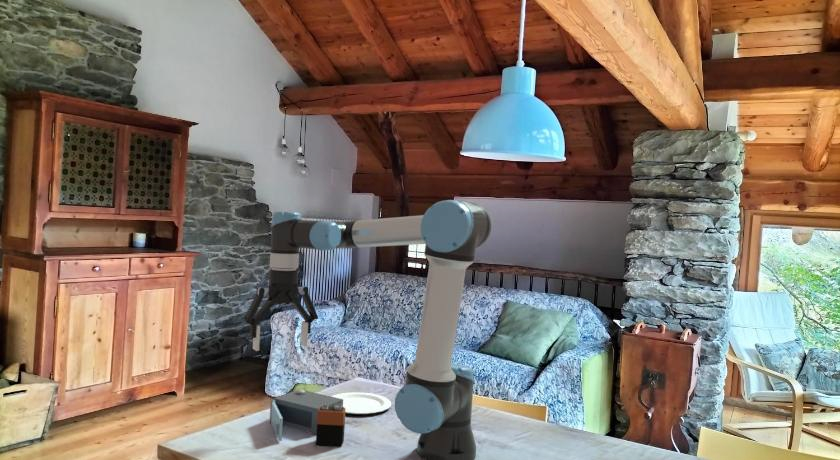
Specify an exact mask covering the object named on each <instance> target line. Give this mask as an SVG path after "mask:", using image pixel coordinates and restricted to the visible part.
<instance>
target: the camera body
mask: <svg viewBox="0 0 840 460" xmlns="http://www.w3.org/2000/svg"><path fill="white" fill-rule="evenodd" d="M331 396H332V395H331ZM331 396H330V395H326V394H322V393H318V392H314V391H308V390H304V389H299V388H298V389H295V390H292V391H290V392H287V393H284V394H282V395H279V396H276V397H273V400H275V404H276V406H277V408H278V410H279V412H280V414H281V416H282V418H283V425H282V427H283V426H284V427H286V428H291V429H295V430H299V431H303V432H305V433H310V434H313V435H316V432H317V413H318V410H319V408H320V407H321V406H322V405H328V406H329V407H334V406H335V405H342V407H343V399H340V398H335V397H331Z"/></svg>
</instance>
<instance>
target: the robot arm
mask: <svg viewBox="0 0 840 460" xmlns="http://www.w3.org/2000/svg"><path fill="white" fill-rule="evenodd" d="M301 217H302V216H301V213H300V212H297V211H296V212H294V211H275V212H273V214H272V218H271V226H270V229H271V230H270V236H271V237H270V255H269V256H270V257H269V267H270V268H271V269H270V270H269V274H268V275H269V276H268V277H269V278H268V287H261V286H258V287H257V288H256V292H255V296H254V298H253V300H252V301H251V304H250V305H249V308H248V310H247V312H246V313H245V315H244V317H243V322H244V323H246V324H247V325H249V326H250V329H249V336H250V338H251V339H252V350H254V351H255V352H258V351H260V341H261V338H260V337H261V336H260V335H261V325H259V324H260V322H261V320H262V319H264V317H265V316H266V315H267V313H269V311H270V310H271V309H272V307H274V306H275V305H276V304H277V305H281V304H283V305H284V304H286V305H287V304H288V305H289V304H291V305H292V306H293V307H294V308H295V310H296V311H297V312H298V313H299V315H300V316H301V317H302V319H303V321H301V324H300V325H301V327H300V346H302V347H308V336H309V335H310V334H311V331H312V329H311V327H312V323H313V322H314V321H315V320H318V318H319V315H318V313H317V310H316V309H315V306H314V304H313V302H312V300H311V297H310V295H309V287H308V286H305V285H301V286H299V287H298V282H299V271H298V270H297V269H299V263H300V262H299V261H300V258H299V257H300V249H308V250H310V249H311V250H318V251H321V252H322V251H333V250H335V249H347V250H348V249H357V248H369V247H370V248H372V247H376V248H377V247H392V246H393V247H394V246H411V245H412V246H413V245H425V246H424V254H423V255H424V257H425V258H426V259H427V260H428V263H429V265H428V270H427V271H428V272H427V278H426V285H425V292H424V298H423V305H422V310H421V311H422V313H421V318H420V325H419V326H420V327H419V330H418V331H419V332H418V339H417V345H416V352H415V358H414V362H413V363H411V364H410V365H409V366H408V367H407V368H406V375H405V382H404V385H403V386H402V387H401V388H400V389H399V390H398V392H397V393H396V395H395V399H394V410H395V414H396V416H397V419H399V421H400V422H401V424H402V425H403V426H404V427H405V428H406V429H407V430H409V431H411V432H412V433H416V434H419V438H418V440H417V446H416V449H417V450H416V451H417V455H418V456H419V457H421V458H422V459H424V460H474V459H476V457H477V444H476V440H475V436H474V433H473V429H472V410H473V409H472V408H473V395H474V393H473V392H474V383H475V379H474V370H473V369H472V367H470V366H468V365H465V364H460V363H455V362H453V357H454V356H453V355H454V348H455V342H456V338H457V337H456V336H457V329H458V322H459V316H460V311H461V310H460V309H461V303H462V298H463V296H462V295H463V290H464V284H465V276H466V273H467V271H466V270H467V269H468V267H469V266H471V265H473V263H474V261H475V256H476V255H475V254H476V249H478V248H479V247H481V246H483V245H484V244H486V242H487V241H488V240H489V237H490V235H491V232H492V220H491V216H490V214H489V213H488V212H487V210H486V209H485V208H484V207H482V206H481V205H479V204H477V203H474V202H469V201H461V200H456V199H447V200H441V201H437V202H436V203H434V204H432V205H431V206H429V207H428V208H427V210H426V211H425V213H424V214H422V215H409V216H398V217H396V216H395V217H384V218H374V219H373V218H372V219H362V220H361V219H360V220H359V219H358V220H349V221H348V220H346V221H345V220H344V221H343V220H342V221H334V220H333V221H332V220H312V219H311V220H306V219H302V218H301ZM266 294H268V298H267V299H266V301H265V302H264V303H263V305H262V306H261V308H260V309H259V307H260V305H261V304H262V301H263V300H264V297H265V296H266ZM297 294H299V295H301V298H302V300H303V303H304V305H305V307H306V309H305V308H304V307H303V306H302V304H301V303H300V301H299V300H298V298H297V297H296V296H297ZM258 309H259V310H258ZM306 310H307V311H306Z"/></svg>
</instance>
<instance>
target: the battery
mask: <svg viewBox="0 0 840 460" xmlns="http://www.w3.org/2000/svg"><path fill="white" fill-rule="evenodd" d="M345 422H346V413H345V408H344V407H342V405H335V406H334V407H329V406H328V405H322V406H321V407H320V408H319V410H318V413H317V432H316V434H315V435H316V436H315V445H316V446H320V447H336V448H337V447H339V448H341V447H342V446H343V444H344V442H345V441H344V440H345V427H346V426H345V424H346V423H345Z"/></svg>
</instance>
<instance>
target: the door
mask: <svg viewBox="0 0 840 460" xmlns="http://www.w3.org/2000/svg"><path fill="white" fill-rule="evenodd" d="M269 424H271V426H272V428H273V431H274V433H275V436H276V437H277V440H278V441H279V442H281V441H283V440H282V438H283V418H282V416H281V414H280V412H279V410H278V408H277V406H276V404H275V400H274V399H271V400H270V409H269Z"/></svg>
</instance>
